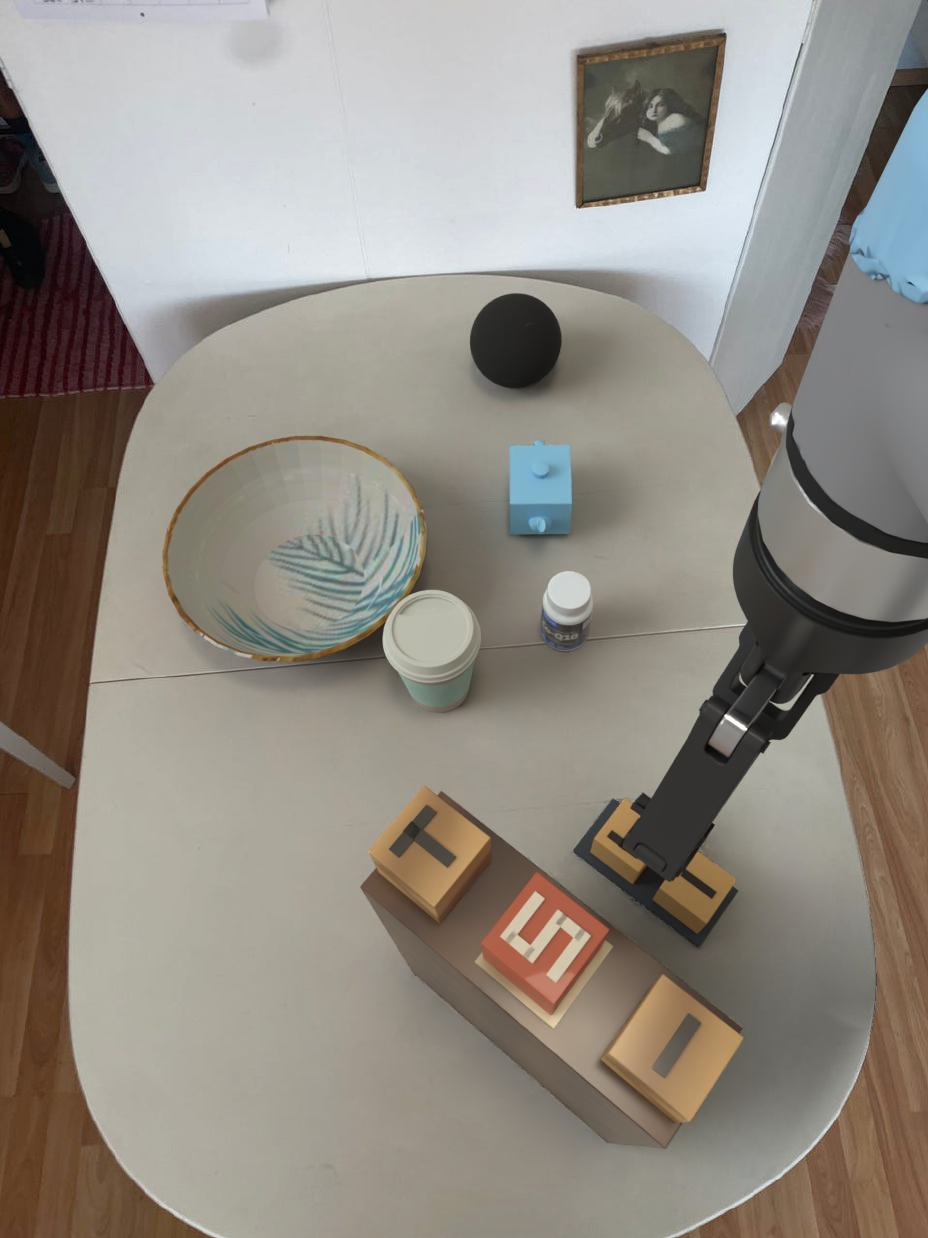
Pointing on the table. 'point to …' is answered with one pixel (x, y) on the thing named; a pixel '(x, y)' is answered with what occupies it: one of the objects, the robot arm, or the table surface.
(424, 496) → the table surface
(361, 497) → the bowl
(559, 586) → the pill bottle
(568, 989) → the block
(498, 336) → the black ball
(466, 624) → the coffee cup
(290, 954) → the table surface
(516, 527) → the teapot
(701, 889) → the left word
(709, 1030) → the word stand
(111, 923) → the table surface
